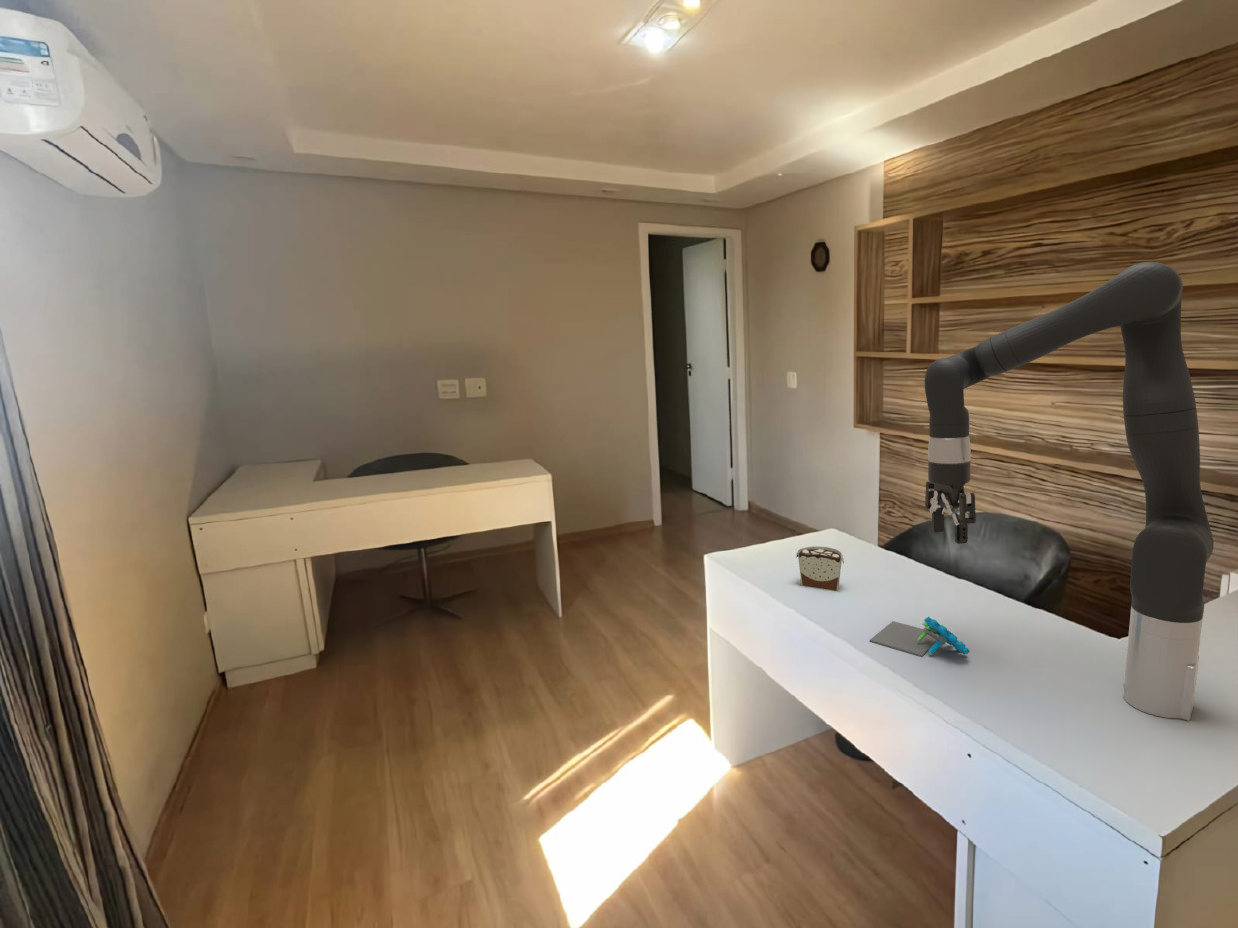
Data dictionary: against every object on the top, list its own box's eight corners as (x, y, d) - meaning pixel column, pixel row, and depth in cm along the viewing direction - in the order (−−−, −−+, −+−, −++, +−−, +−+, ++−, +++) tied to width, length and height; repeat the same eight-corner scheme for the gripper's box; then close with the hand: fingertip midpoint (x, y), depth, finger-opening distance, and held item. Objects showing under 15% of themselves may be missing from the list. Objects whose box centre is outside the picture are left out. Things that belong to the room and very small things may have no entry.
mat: (943, 635, 140) (943, 634, 140) (921, 656, 132) (921, 655, 132) (892, 622, 148) (892, 620, 148) (869, 641, 140) (869, 639, 140)
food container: (849, 584, 172) (849, 548, 170) (843, 592, 166) (843, 556, 165) (803, 577, 178) (802, 543, 176) (796, 585, 173) (795, 550, 171)
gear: (980, 657, 129) (952, 627, 126) (960, 678, 129) (932, 648, 126) (943, 633, 139) (917, 605, 137) (924, 653, 139) (897, 625, 137)
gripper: (989, 462, 121) (988, 545, 123) (948, 451, 135) (948, 526, 137) (950, 466, 121) (950, 549, 123) (912, 455, 135) (913, 529, 137)
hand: (949, 537), depth 130 cm, fingers open, 8 cm apart
